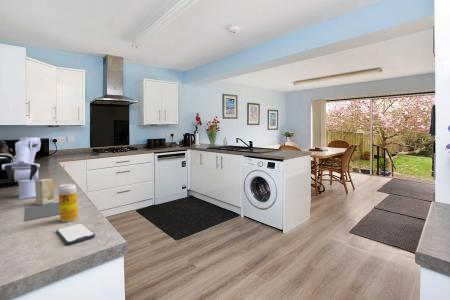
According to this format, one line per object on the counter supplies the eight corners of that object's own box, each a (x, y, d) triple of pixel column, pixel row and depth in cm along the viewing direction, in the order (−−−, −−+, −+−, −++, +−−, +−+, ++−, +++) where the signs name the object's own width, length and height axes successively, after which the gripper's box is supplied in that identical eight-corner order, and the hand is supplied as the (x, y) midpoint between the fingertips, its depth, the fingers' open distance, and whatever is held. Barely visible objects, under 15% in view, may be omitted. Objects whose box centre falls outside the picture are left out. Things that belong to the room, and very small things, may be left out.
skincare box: (42, 205, 115) (41, 181, 114) (35, 205, 116) (33, 180, 115) (54, 201, 121) (53, 178, 121) (47, 201, 122) (46, 178, 121)
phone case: (55, 233, 87) (67, 247, 76) (55, 229, 86) (66, 242, 76) (82, 226, 93) (96, 238, 82) (82, 222, 93) (96, 233, 82)
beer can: (59, 223, 94) (57, 187, 92) (61, 218, 99) (59, 184, 97) (77, 221, 96) (75, 185, 95) (78, 216, 102) (76, 182, 100)
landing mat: (26, 208, 112) (26, 207, 111) (63, 202, 121) (63, 201, 121) (24, 221, 96) (24, 220, 96) (68, 213, 106) (68, 212, 106)
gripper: (2, 153, 115) (-1, 175, 107) (40, 153, 124) (39, 173, 116) (3, 162, 119) (0, 184, 111) (40, 162, 128) (39, 182, 120)
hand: (20, 179), depth 114 cm, fingers open, 7 cm apart
